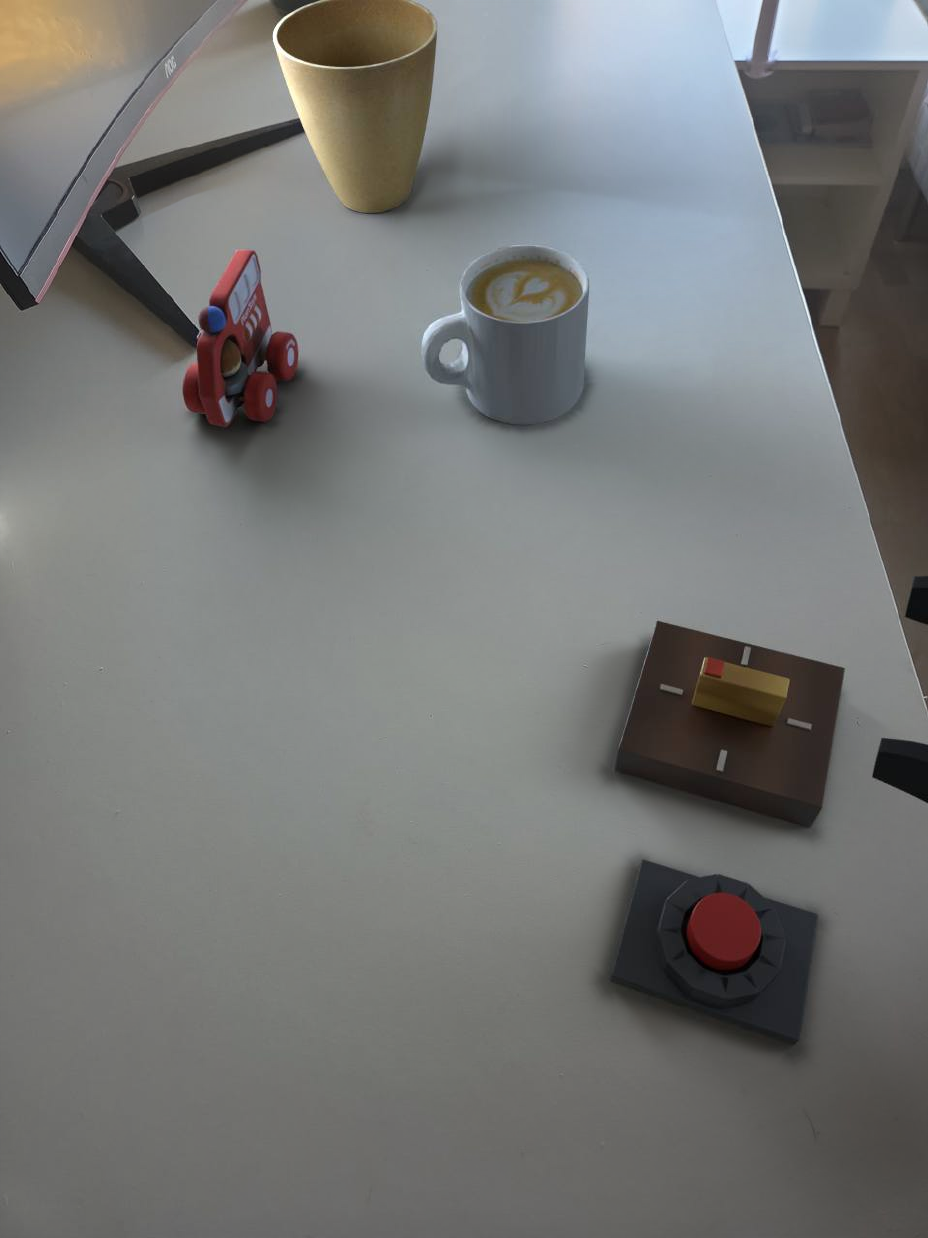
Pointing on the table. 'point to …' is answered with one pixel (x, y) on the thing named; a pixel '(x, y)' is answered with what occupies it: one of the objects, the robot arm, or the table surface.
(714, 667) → the yellow rectangular block
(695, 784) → the plate
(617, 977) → the dark grey button mount
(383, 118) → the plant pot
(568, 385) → the coffee mug
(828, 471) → the table surface
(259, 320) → the toy fire truck
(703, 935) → the bell button
